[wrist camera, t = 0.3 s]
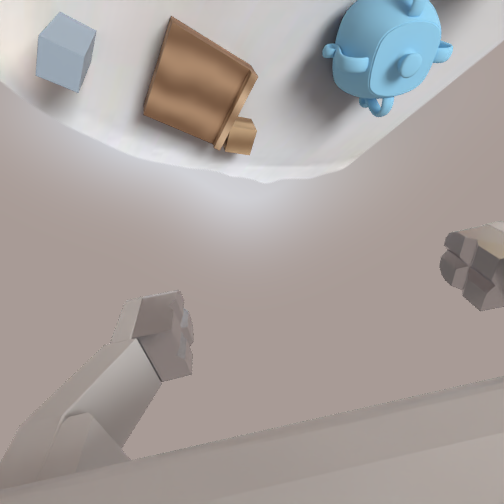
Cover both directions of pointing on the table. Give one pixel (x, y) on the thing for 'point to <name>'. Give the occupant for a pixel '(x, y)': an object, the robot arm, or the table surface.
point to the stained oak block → (240, 136)
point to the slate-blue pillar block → (65, 52)
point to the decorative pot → (386, 50)
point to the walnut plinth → (197, 85)
